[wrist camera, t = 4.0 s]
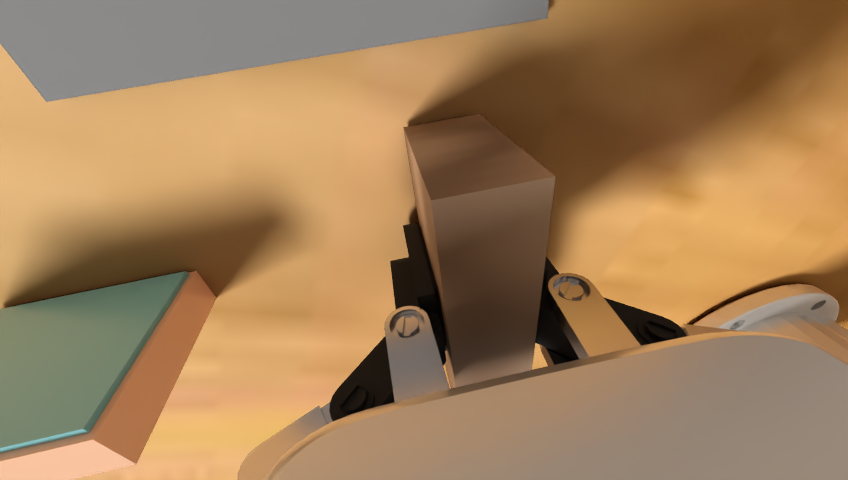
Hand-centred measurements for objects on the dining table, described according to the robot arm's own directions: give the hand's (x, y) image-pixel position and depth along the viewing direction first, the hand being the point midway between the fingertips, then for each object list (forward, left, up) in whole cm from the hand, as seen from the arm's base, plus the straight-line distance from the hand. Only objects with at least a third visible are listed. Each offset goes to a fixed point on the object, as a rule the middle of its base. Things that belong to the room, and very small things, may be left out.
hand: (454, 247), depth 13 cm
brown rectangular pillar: (0, 0, 0) cm, 0 cm away
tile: (+13, 0, -1) cm, 13 cm away
